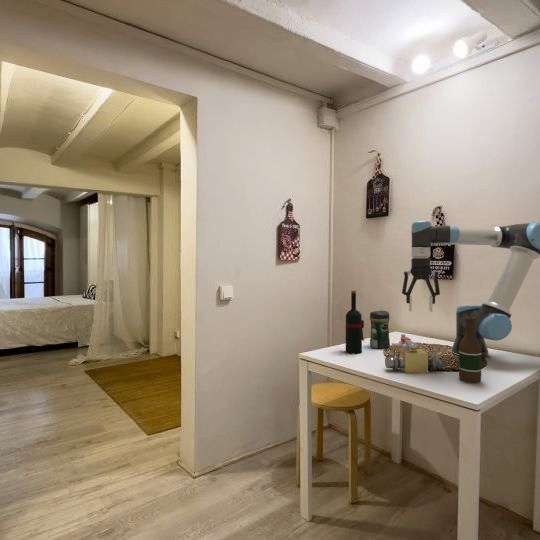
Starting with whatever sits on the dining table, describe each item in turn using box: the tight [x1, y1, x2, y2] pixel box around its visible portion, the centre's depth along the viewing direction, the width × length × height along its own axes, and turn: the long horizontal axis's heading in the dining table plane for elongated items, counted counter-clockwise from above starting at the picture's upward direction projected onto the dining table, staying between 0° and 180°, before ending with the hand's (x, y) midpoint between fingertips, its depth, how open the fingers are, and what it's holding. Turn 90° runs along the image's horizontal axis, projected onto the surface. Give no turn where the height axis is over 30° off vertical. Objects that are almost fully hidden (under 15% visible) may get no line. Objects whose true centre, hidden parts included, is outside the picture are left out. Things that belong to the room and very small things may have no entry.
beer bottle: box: [458, 317, 483, 384], centre depth 143 cm, size 8×8×24 cm
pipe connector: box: [391, 333, 409, 349], centre depth 177 cm, size 10×10×10 cm
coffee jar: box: [369, 310, 391, 349], centre depth 194 cm, size 10×8×19 cm
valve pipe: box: [384, 348, 444, 374], centre depth 156 cm, size 22×7×9 cm, turn 88°
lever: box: [400, 336, 420, 349], centre depth 160 cm, size 14×4×2 cm, turn 178°
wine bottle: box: [345, 290, 366, 355], centre depth 185 cm, size 8×10×30 cm
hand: (420, 311), depth 162 cm, fingers open, 8 cm apart
